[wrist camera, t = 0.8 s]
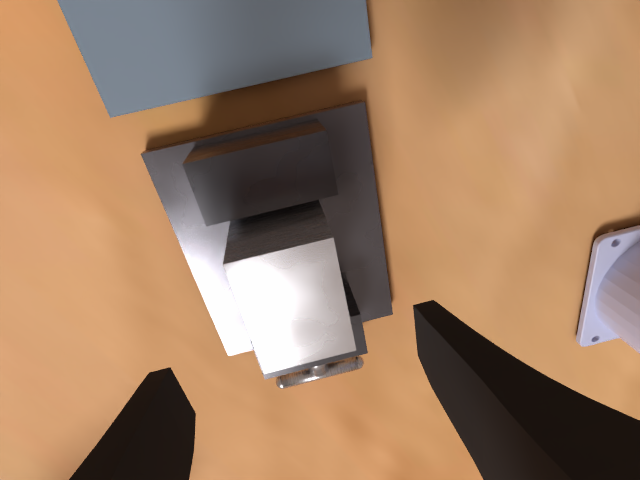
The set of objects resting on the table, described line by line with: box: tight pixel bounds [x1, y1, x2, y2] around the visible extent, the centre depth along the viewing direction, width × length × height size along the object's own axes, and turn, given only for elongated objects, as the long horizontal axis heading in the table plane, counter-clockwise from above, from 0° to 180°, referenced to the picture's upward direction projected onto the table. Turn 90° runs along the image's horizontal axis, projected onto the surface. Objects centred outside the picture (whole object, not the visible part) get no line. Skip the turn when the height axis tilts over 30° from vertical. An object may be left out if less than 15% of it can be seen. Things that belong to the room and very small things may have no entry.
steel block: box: [223, 200, 356, 374], centre depth 15 cm, size 4×5×5 cm
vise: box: [141, 100, 393, 389], centre depth 17 cm, size 9×13×3 cm
